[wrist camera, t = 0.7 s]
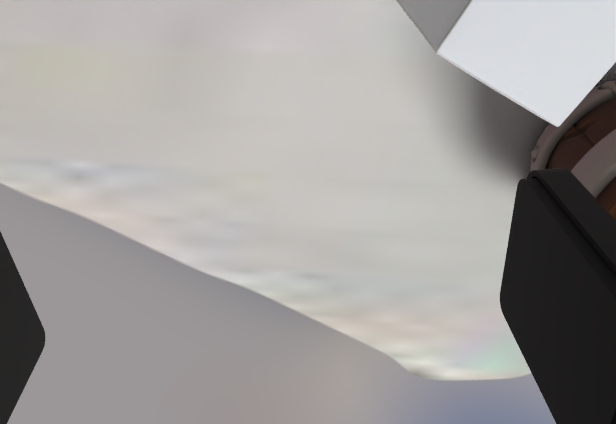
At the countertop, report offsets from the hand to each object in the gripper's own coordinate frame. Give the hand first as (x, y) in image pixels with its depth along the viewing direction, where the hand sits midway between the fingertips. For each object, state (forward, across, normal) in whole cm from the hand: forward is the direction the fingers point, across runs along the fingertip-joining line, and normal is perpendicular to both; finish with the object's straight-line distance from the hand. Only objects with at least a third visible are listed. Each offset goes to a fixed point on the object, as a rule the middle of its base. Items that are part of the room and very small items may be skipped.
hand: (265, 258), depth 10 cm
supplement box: (+27, -12, 0) cm, 29 cm away
